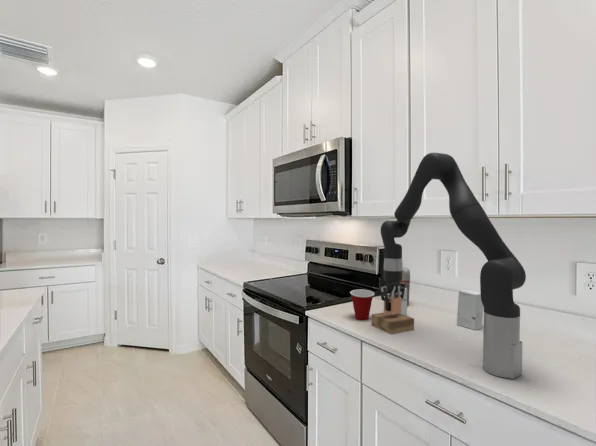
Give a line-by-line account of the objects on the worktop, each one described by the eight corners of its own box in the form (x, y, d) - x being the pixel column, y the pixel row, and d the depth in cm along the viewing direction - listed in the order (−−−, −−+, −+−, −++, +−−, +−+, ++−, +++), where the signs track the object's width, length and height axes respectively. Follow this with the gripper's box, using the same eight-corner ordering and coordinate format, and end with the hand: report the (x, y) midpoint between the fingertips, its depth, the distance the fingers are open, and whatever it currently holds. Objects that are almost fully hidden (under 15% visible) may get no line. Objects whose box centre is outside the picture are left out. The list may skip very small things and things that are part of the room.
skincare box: (456, 325, 142) (456, 290, 141) (464, 322, 145) (464, 288, 145) (476, 330, 134) (476, 294, 134) (484, 328, 138) (484, 292, 138)
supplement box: (393, 316, 153) (393, 289, 153) (385, 312, 161) (385, 286, 160) (407, 315, 155) (407, 288, 155) (398, 311, 163) (398, 285, 162)
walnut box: (414, 330, 135) (414, 318, 135) (390, 335, 130) (390, 322, 130) (393, 322, 146) (393, 311, 146) (371, 326, 141) (371, 314, 141)
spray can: (398, 301, 181) (398, 265, 180) (412, 304, 175) (412, 266, 174) (389, 304, 175) (390, 266, 175) (404, 307, 169) (404, 268, 169)
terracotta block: (401, 312, 137) (401, 298, 137) (393, 314, 134) (393, 299, 134) (391, 309, 141) (391, 295, 141) (383, 311, 138) (383, 297, 138)
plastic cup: (351, 321, 145) (351, 294, 145) (348, 314, 156) (349, 289, 156) (376, 322, 144) (376, 294, 144) (372, 315, 155) (372, 289, 155)
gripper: (389, 271, 130) (388, 315, 130) (411, 268, 139) (410, 309, 139) (374, 269, 136) (373, 310, 136) (396, 266, 145) (396, 305, 145)
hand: (392, 309), depth 138 cm, fingers closed on terracotta block, 5 cm apart
